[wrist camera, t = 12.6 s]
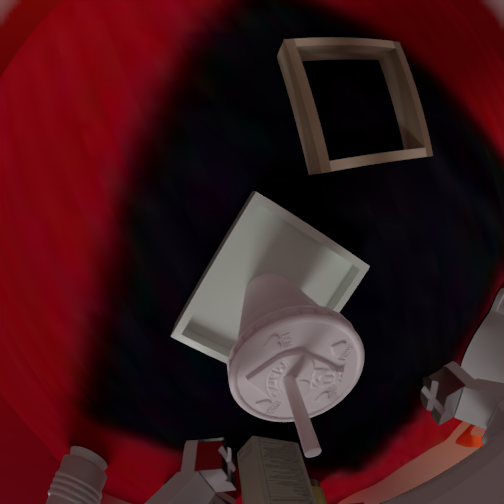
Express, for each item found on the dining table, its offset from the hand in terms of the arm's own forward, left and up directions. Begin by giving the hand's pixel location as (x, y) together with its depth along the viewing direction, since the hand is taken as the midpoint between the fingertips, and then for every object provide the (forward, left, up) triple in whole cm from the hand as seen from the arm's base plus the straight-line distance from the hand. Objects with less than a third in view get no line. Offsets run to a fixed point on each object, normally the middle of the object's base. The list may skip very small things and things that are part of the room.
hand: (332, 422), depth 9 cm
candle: (+31, +20, -14) cm, 39 cm away
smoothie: (+1, 0, -13) cm, 13 cm away
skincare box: (+5, +20, -14) cm, 25 cm away
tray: (+1, 0, -14) cm, 14 cm away
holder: (-9, -13, -14) cm, 21 cm away
